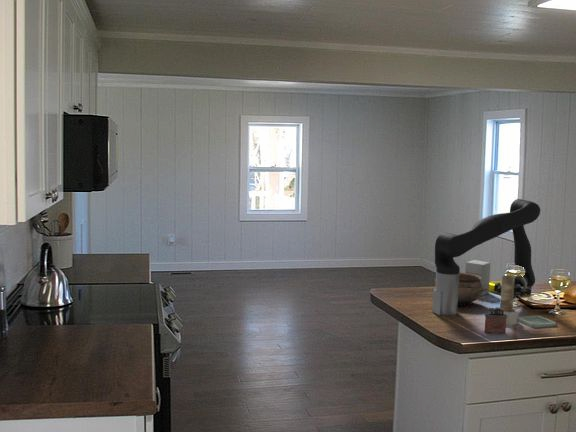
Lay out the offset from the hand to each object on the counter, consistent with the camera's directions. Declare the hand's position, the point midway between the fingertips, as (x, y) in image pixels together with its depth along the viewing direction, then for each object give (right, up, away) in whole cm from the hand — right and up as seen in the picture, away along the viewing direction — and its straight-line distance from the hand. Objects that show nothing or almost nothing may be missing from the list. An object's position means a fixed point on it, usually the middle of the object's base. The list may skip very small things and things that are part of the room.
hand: (510, 292), depth 258 cm
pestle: (-4, -11, -5) cm, 13 cm away
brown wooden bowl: (-14, -8, +25) cm, 30 cm away
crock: (-4, -12, -5) cm, 13 cm away
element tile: (+15, -6, +50) cm, 52 cm away
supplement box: (0, -6, +46) cm, 46 cm away
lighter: (-13, -13, -20) cm, 27 cm away
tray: (+8, -12, -6) cm, 15 cm away
